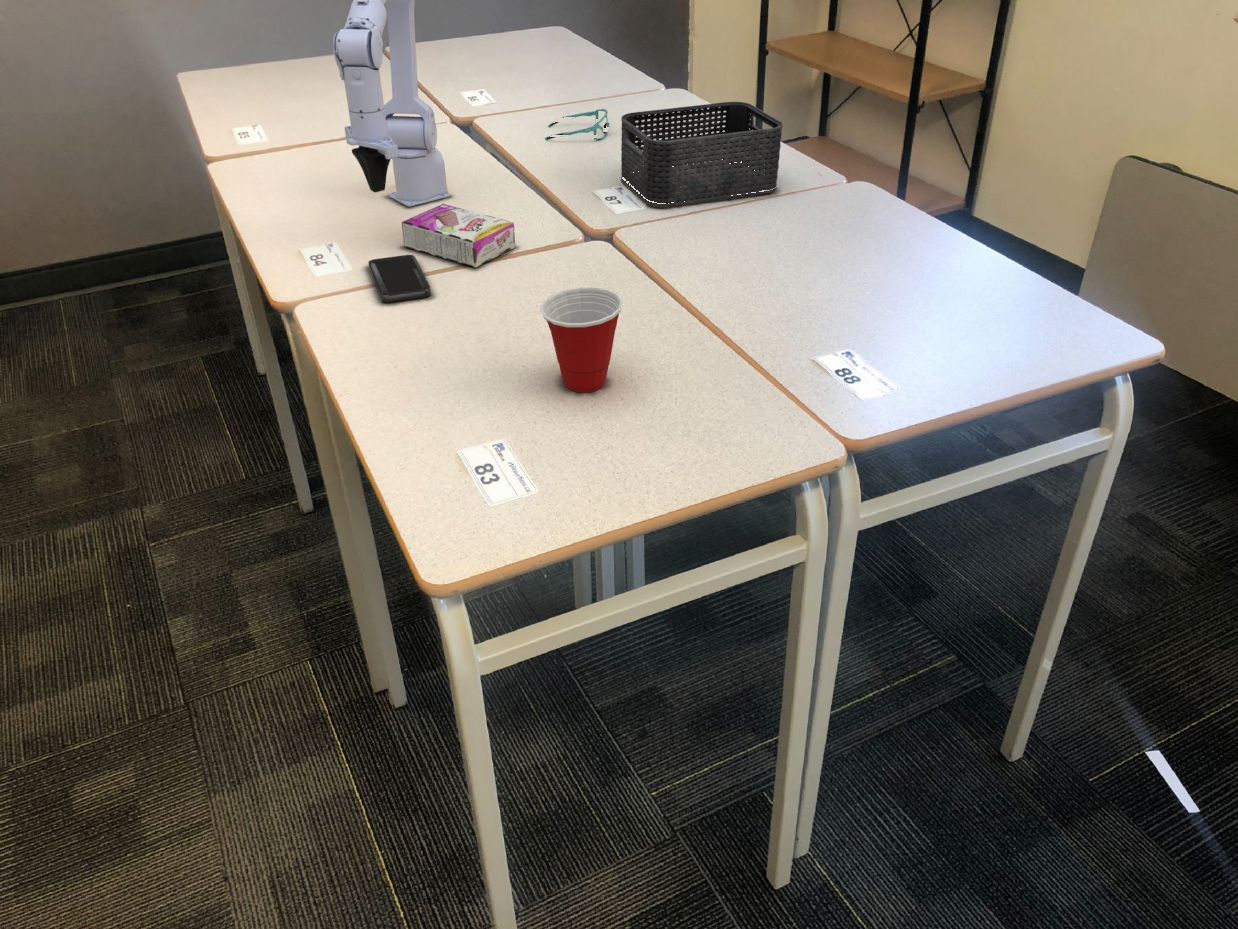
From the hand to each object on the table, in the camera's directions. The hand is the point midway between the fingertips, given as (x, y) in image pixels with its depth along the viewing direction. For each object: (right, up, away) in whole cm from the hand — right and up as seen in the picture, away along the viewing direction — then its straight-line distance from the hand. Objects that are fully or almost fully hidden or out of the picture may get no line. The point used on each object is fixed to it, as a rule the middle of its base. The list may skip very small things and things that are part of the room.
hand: (377, 190), depth 163 cm
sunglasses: (+32, +30, +59) cm, 73 cm away
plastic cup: (+36, -36, -33) cm, 61 cm away
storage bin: (+57, +10, +31) cm, 66 cm away
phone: (+6, -17, -8) cm, 20 cm away
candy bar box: (+6, -4, +6) cm, 10 cm away
